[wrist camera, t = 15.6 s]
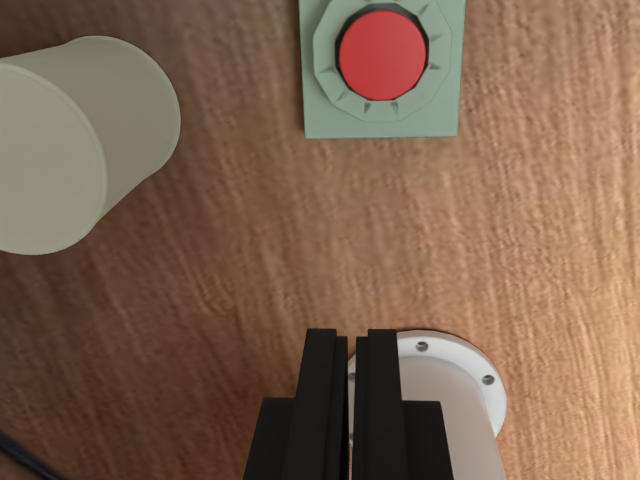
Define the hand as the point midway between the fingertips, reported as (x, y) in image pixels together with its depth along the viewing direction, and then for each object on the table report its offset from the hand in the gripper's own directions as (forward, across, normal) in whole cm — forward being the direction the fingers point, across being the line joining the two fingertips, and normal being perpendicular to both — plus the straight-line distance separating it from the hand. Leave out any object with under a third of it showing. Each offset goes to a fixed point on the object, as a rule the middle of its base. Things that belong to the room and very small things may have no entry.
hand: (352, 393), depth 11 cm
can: (+27, +16, 0) cm, 32 cm away
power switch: (+27, -1, -4) cm, 27 cm away
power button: (+24, -1, -3) cm, 24 cm away
